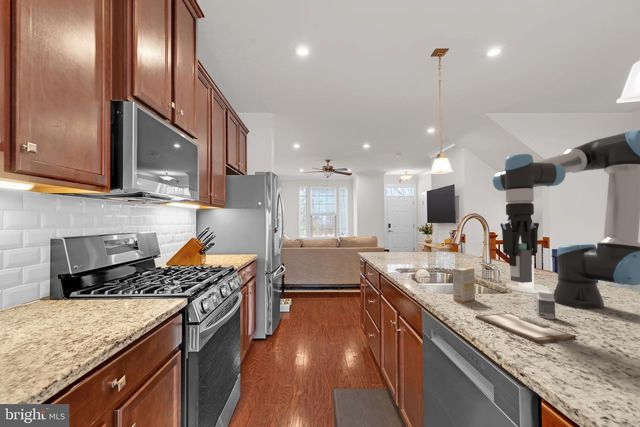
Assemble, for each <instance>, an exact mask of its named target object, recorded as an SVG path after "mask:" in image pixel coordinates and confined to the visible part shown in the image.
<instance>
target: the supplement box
mask: <svg viewBox="0 0 640 427" xmlns="http://www.w3.org/2000/svg"><path fill="white" fill-rule="evenodd" d="M475 288H476V287H475V267H467V266H466V267H465V266H462V267H456V268H452V291H453V292H452V293H453V298H452V299H453V301H454V302H455V301H456V302H459V303H466V302H471V301H474V300H476V290H475Z"/></svg>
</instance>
